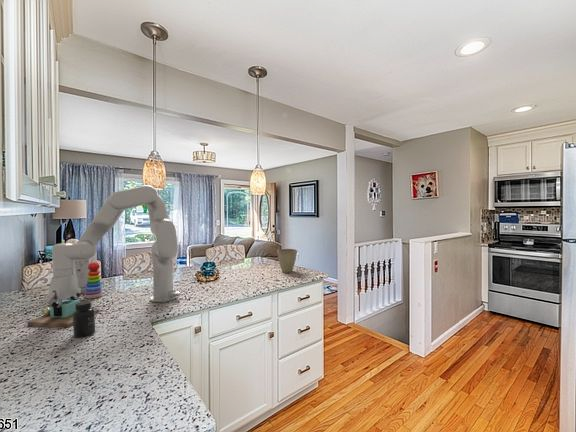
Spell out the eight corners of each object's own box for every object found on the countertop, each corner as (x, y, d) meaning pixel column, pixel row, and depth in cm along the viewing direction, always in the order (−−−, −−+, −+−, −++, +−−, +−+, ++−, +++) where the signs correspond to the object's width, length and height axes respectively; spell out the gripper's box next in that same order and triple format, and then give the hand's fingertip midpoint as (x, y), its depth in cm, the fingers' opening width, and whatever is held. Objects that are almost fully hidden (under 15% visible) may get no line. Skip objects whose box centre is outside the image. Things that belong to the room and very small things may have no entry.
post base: (98, 312, 128) (98, 299, 128) (69, 327, 112) (68, 312, 112) (62, 310, 129) (62, 298, 129) (27, 325, 113) (27, 311, 113)
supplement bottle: (92, 328, 111) (91, 298, 111) (97, 333, 107) (97, 302, 106) (70, 334, 106) (70, 303, 105) (76, 339, 102) (75, 307, 101)
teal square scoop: (79, 311, 124) (79, 300, 124) (66, 317, 117) (65, 305, 117) (52, 310, 125) (51, 299, 125) (37, 316, 118) (36, 305, 118)
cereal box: (90, 292, 158) (89, 248, 157) (73, 293, 154) (72, 249, 153) (97, 282, 177) (96, 243, 176) (82, 283, 174) (81, 244, 173)
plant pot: (298, 273, 201) (298, 251, 200) (278, 274, 199) (278, 251, 198) (295, 268, 216) (295, 248, 215) (276, 269, 214) (276, 248, 213)
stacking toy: (93, 299, 145) (92, 264, 144) (80, 298, 146) (79, 263, 146) (106, 294, 152) (105, 261, 152) (94, 294, 154) (93, 260, 153)
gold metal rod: (50, 315, 120) (49, 307, 120) (47, 316, 119) (46, 308, 119) (47, 315, 120) (46, 307, 120) (44, 316, 119) (43, 308, 119)
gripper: (72, 267, 129) (74, 305, 130) (36, 277, 112) (38, 320, 112) (88, 267, 128) (89, 305, 129) (54, 277, 111) (56, 321, 112)
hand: (65, 312), depth 121 cm, fingers closed on teal square scoop, 7 cm apart
